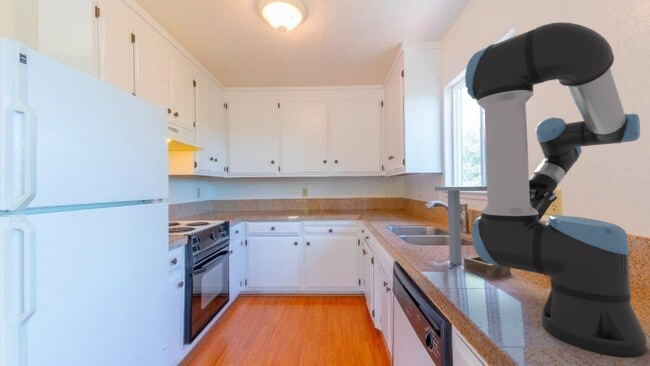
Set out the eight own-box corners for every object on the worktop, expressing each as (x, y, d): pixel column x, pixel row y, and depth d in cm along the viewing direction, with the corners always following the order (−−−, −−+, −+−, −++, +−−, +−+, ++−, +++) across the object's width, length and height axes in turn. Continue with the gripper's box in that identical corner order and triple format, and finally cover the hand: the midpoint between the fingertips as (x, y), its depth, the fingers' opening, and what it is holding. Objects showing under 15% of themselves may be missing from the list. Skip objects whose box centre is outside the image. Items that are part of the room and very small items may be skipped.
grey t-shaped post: (481, 279, 90) (478, 186, 90) (437, 264, 107) (434, 186, 107) (506, 274, 94) (503, 185, 94) (460, 260, 112) (457, 186, 112)
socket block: (490, 277, 91) (489, 265, 91) (464, 269, 100) (464, 258, 100) (510, 273, 95) (510, 261, 95) (483, 265, 104) (483, 255, 104)
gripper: (582, 188, 83) (540, 247, 80) (526, 187, 101) (489, 236, 98) (567, 170, 82) (524, 229, 78) (513, 173, 100) (475, 221, 96)
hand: (505, 233), depth 88 cm, fingers closed on supplement bottle, 5 cm apart
